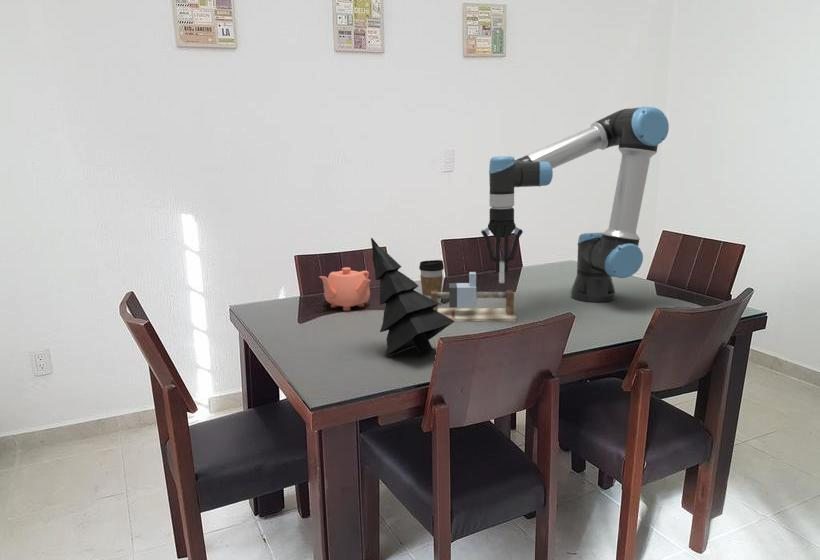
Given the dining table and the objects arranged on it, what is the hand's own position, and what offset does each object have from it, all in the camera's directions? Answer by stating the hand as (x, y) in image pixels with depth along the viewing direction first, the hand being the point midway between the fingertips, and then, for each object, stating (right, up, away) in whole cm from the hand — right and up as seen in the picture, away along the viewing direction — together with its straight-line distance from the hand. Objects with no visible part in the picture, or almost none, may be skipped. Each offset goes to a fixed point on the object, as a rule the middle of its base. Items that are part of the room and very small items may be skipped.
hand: (501, 282), depth 197 cm
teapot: (-50, -9, +16) cm, 54 cm away
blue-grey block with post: (-11, -7, +2) cm, 13 cm away
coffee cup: (-21, -8, +19) cm, 30 cm away
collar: (-15, -7, +2) cm, 17 cm away
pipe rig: (-9, -11, +3) cm, 14 cm away
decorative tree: (-31, -19, -28) cm, 46 cm away
